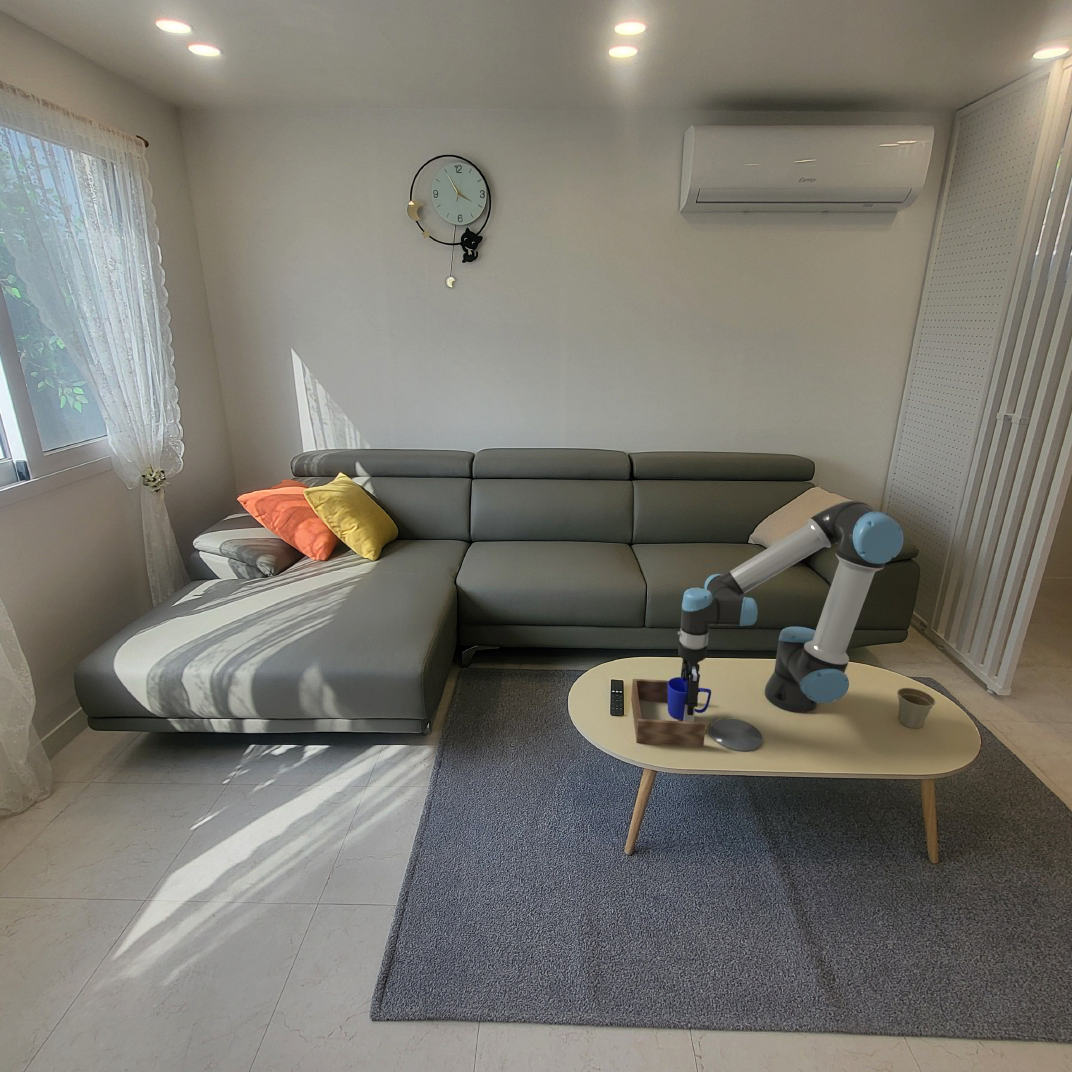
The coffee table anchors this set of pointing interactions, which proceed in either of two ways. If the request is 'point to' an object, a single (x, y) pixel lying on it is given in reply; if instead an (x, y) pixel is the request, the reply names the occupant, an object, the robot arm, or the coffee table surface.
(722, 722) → the grey round disc
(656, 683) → the u-shaped wooden frame
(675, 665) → the coffee table surface
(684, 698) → the mug
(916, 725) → the flower pot
